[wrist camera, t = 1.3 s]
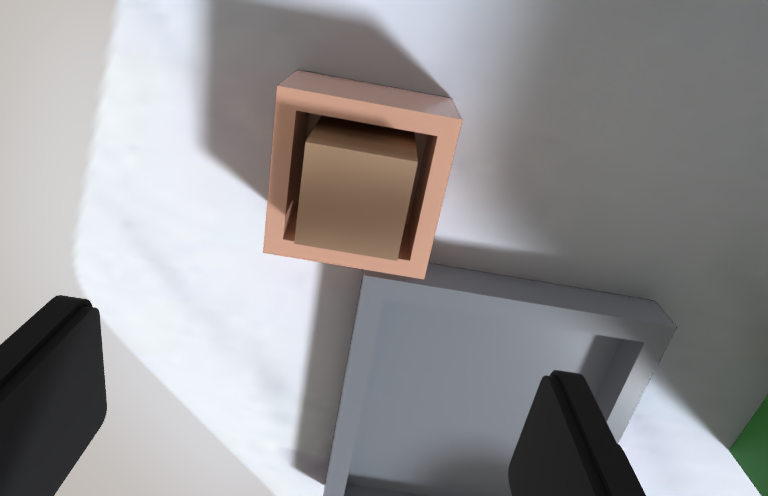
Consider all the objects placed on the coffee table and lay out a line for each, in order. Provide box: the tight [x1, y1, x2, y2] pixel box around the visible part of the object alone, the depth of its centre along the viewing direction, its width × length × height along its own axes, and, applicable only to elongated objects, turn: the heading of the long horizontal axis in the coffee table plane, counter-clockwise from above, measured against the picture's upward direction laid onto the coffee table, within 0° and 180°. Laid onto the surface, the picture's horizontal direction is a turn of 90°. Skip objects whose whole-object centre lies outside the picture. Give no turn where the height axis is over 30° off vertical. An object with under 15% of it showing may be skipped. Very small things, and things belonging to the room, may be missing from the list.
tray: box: [323, 263, 677, 496], centre depth 31 cm, size 18×16×2 cm
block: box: [294, 115, 418, 261], centre depth 23 cm, size 4×4×6 cm
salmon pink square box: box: [263, 70, 462, 279], centre depth 24 cm, size 7×7×4 cm
